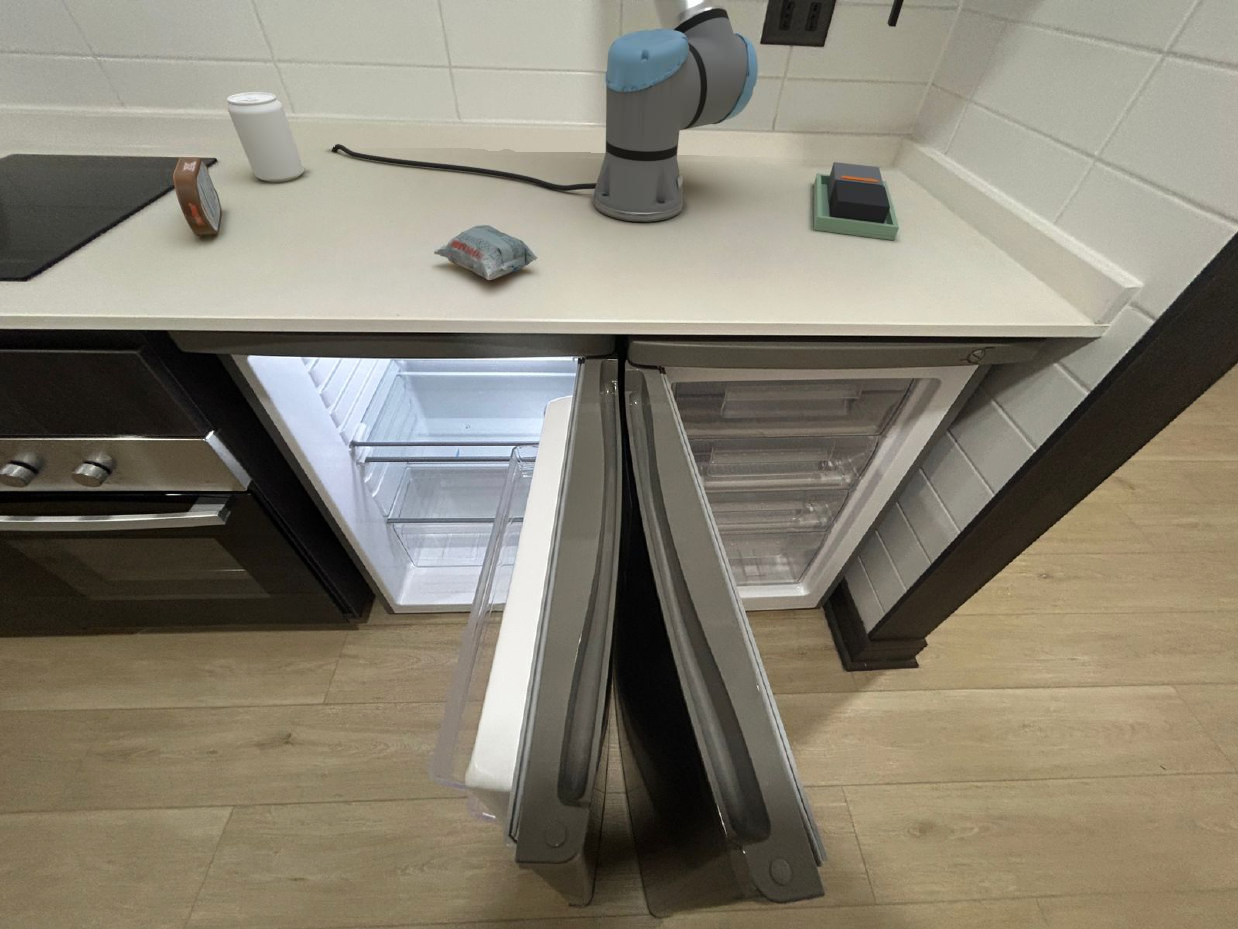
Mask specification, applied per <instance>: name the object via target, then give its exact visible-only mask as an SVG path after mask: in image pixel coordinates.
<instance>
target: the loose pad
mask: <svg viewBox="0 0 1238 929" xmlns="http://www.w3.org/2000/svg"><path fill="white" fill-rule="evenodd" d="M889 209H890V205H889V201H888V197H887V193H886V189H885V186H878V185H869V184H861V183H852V182H844V181H836V183H835V186H834V189H833V193H832V196H831V200H830V203H829V214H830V217H835V218H843V219H851V220H859V221H867V222H875V223H882V224H884V222H885V220H886V217H887V214H888V212H889Z"/></svg>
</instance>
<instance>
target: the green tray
mask: <svg viewBox="0 0 1238 929" xmlns="http://www.w3.org/2000/svg"><path fill="white" fill-rule="evenodd" d="M829 177H830V174H827V173H819V172H818V173H816V175H815V179H814V182H813V230H814V231H818V232H826V233H828V232H829V233H834V234H843V235H848V236H849V235H850V236H858V237H866V238H873V239H881V240H889V241H895V238H896V237H897V234H898V232H899V228H900V226H899V222H898V220H897V216H896V212H895V208H894V204H893V200H892V197H891V193H890V190H889V186H888V182H887V180H882V181H883V186H885V189H886V193H887V197H888V201H889V205H890V209H889V212H888V214H887V217H886V220H885V222H884V224H882V223H875V222H867V221H859V220H851V219H843V218H835V217H830V214H829V203H828V190H827V184H828V180H829Z"/></svg>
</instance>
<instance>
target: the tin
mask: <svg viewBox="0 0 1238 929" xmlns="http://www.w3.org/2000/svg"><path fill="white" fill-rule="evenodd" d="M172 179H173V185H174V186H173V187H174V190H175V194H176V198H177V200H178V204H179V206H180V209H181V211H182V214H183V216H184V218H185V221H186V223H187V224H188V227H189V228H190V230H191V231H192V233H193V234H194V235H195V237H201V236H213V235H217V234H219V230H220V224H221V220H222V219H221V218H222V205H221V202H220V196H219V194H218V192H217V190H216V188H215V186H214V183H213V181H212V178H211V175H210V173H209V168H208V166H207V164H206V162H205V161H204V160H203V159H202V158H200V157H183V156H181V157H179V158H178V161H177V164H176V167H175V169H174V170H173V174H172Z"/></svg>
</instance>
